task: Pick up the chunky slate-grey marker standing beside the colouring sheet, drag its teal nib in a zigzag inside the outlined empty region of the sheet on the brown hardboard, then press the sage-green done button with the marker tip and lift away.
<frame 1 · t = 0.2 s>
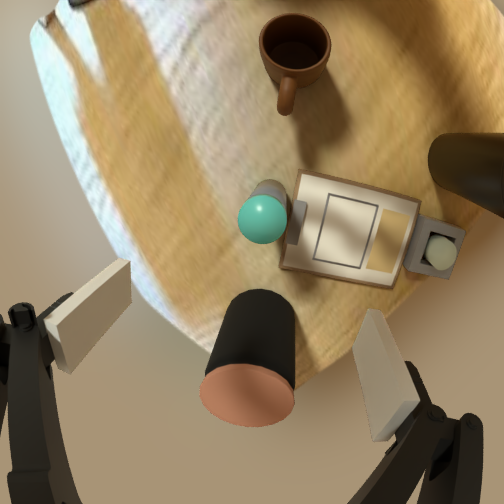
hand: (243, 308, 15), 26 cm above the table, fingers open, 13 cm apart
coffee jar: (261, 314, 46), on the table
button housing: (431, 244, 38), on the table
mug: (291, 78, 33), on the table
water bottle: (450, 161, 33), on the table
board: (351, 232, 39), on the table
marker: (270, 193, 39), on the table
button: (440, 252, 35), point 3 cm above the table, slide at 0.0 cm
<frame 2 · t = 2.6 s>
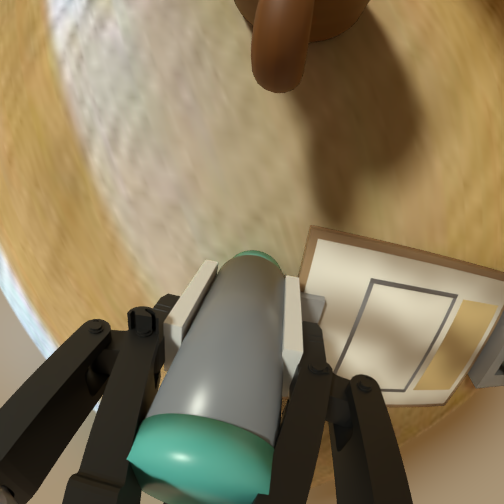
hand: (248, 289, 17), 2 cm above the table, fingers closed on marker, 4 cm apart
mug: (293, 24, 13), on the table
board: (400, 339, 19), on the table
marker: (253, 277, 19), on the table, touching gripper
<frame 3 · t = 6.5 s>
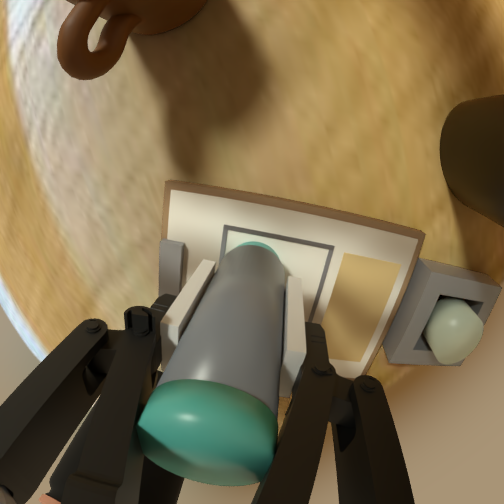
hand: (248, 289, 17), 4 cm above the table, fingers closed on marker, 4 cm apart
coffee jar: (158, 396, 28), on the table
button housing: (438, 309, 20), on the table
mug: (159, 20, 15), on the table
water bottle: (480, 155, 16), on the table
board: (280, 295, 21), on the table
marker: (253, 266, 20), point 1 cm above the table, touching board, gripper
button: (452, 330, 18), point 3 cm above the table, slide at 0.0 cm
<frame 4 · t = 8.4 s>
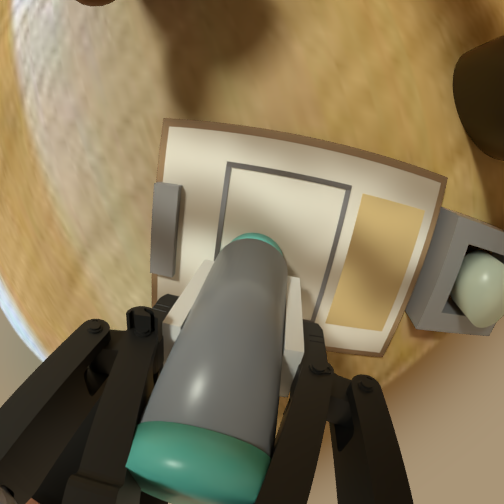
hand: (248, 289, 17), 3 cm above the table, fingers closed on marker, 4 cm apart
coffee jar: (150, 380, 25), on the table
button housing: (463, 270, 18), on the table
water bottle: (494, 103, 13), on the table
board: (291, 248, 19), on the table
marker: (253, 259, 18), point 1 cm above the table, tilted 6°, touching board, gripper
button: (483, 288, 15), point 3 cm above the table, slide at 0.0 cm
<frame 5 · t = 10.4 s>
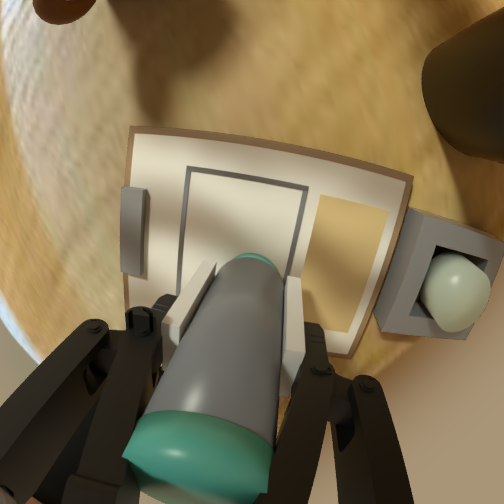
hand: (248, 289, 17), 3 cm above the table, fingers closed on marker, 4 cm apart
coffee jar: (129, 375, 26), on the table
button housing: (436, 272, 18), on the table
water bottle: (469, 98, 14), on the table
board: (251, 248, 19), on the table
marker: (251, 279, 19), point 1 cm above the table, touching gripper
button: (454, 291, 15), point 3 cm above the table, slide at 0.0 cm
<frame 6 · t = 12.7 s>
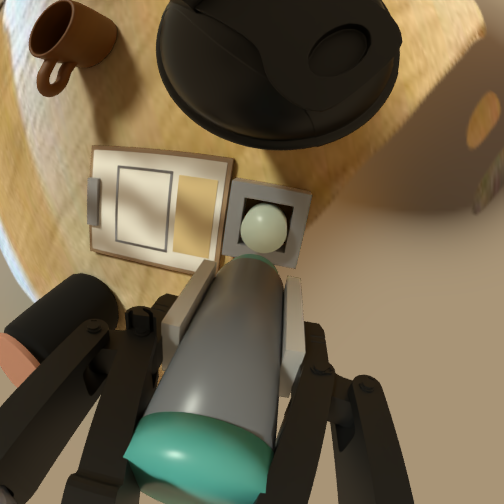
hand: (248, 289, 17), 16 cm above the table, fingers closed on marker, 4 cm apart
coffee jar: (93, 301, 39), on the table
button housing: (266, 219, 32), on the table
mug: (92, 58, 27), on the table
water bottle: (283, 101, 27), on the table
board: (151, 208, 33), on the table
marker: (250, 280, 19), point 14 cm above the table, touching gripper
button: (264, 227, 29), point 3 cm above the table, slide at 0.0 cm
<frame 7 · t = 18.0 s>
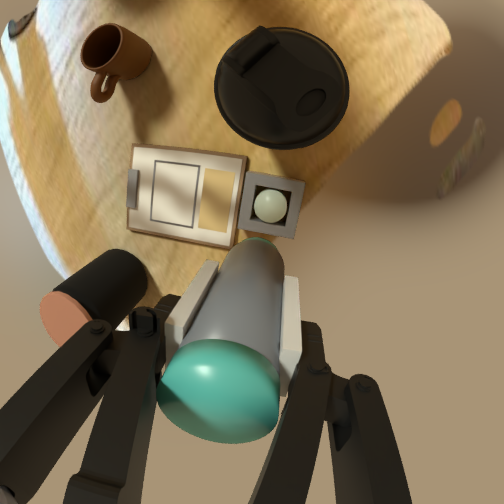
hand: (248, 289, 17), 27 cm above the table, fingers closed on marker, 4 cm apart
coffee jar: (124, 273, 49), on the table
button housing: (271, 202, 42), on the table
mug: (130, 72, 37), on the table
water bottle: (283, 113, 37), on the table
board: (181, 193, 43), on the table
marker: (256, 260, 22), point 21 cm above the table, touching gripper
button: (271, 204, 40), point 1 cm above the table, slide at 1.5 cm
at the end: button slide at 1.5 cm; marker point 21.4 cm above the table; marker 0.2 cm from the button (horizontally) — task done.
